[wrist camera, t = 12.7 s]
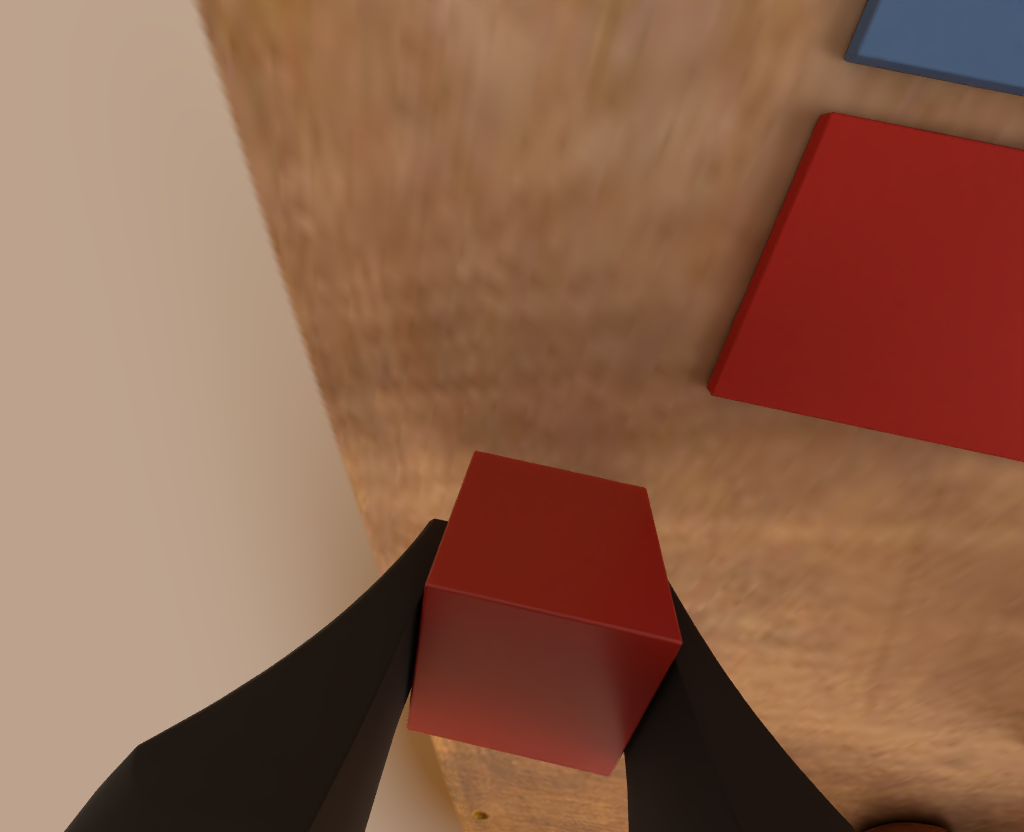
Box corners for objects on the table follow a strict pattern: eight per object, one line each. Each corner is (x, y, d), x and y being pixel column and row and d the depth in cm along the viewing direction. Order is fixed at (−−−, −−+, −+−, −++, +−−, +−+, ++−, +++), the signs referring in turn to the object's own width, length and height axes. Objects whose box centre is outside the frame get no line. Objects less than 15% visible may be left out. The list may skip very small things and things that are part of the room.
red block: (600, 606, 14) (610, 778, 10) (453, 573, 14) (405, 730, 10) (647, 487, 12) (684, 643, 8) (474, 449, 12) (424, 584, 8)
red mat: (1106, 473, 14) (1128, 484, 13) (705, 387, 14) (710, 396, 13) (1348, 220, 10) (1390, 222, 10) (819, 114, 11) (832, 110, 10)
